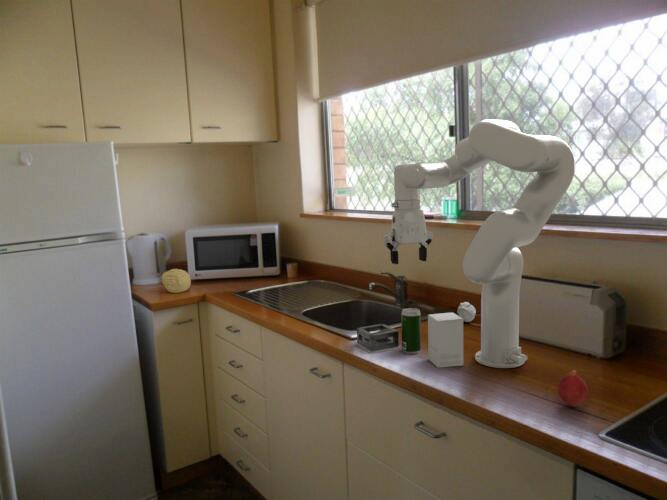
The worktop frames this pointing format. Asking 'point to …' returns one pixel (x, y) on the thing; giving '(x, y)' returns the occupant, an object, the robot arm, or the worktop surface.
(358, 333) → the collar stand
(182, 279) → the pale yellow bumpy ball
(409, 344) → the beer can
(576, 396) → the onion
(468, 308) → the crumpled paper ball
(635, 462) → the worktop surface
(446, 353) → the supplement box
